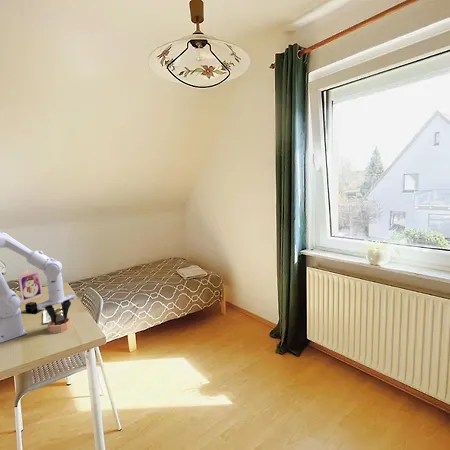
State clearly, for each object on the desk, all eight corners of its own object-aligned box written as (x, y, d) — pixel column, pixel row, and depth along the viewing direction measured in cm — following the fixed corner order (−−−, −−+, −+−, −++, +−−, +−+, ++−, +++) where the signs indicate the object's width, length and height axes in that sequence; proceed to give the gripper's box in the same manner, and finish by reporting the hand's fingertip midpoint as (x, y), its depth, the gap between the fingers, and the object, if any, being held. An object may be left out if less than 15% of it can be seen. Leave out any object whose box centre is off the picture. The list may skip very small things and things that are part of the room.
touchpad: (43, 325, 138) (42, 321, 138) (43, 313, 151) (43, 309, 151) (63, 321, 142) (62, 316, 142) (61, 309, 155) (61, 305, 155)
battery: (56, 326, 132) (54, 311, 131) (53, 323, 134) (51, 309, 133) (66, 323, 134) (64, 308, 133) (63, 320, 137) (61, 306, 136)
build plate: (15, 314, 151) (14, 305, 151) (28, 307, 158) (27, 299, 158) (36, 316, 148) (35, 307, 147) (48, 310, 155) (47, 301, 154)
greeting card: (23, 303, 163) (19, 275, 160) (14, 301, 166) (10, 274, 163) (43, 295, 173) (40, 269, 171) (34, 294, 176) (31, 268, 174)
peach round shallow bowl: (53, 335, 129) (52, 328, 128) (45, 328, 135) (44, 322, 134) (74, 327, 135) (74, 320, 135) (66, 321, 141) (66, 315, 140)
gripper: (39, 296, 124) (43, 329, 126) (77, 286, 135) (80, 316, 137) (34, 292, 129) (38, 323, 131) (70, 283, 139) (73, 312, 142)
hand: (59, 319), depth 134 cm, fingers open, 4 cm apart
